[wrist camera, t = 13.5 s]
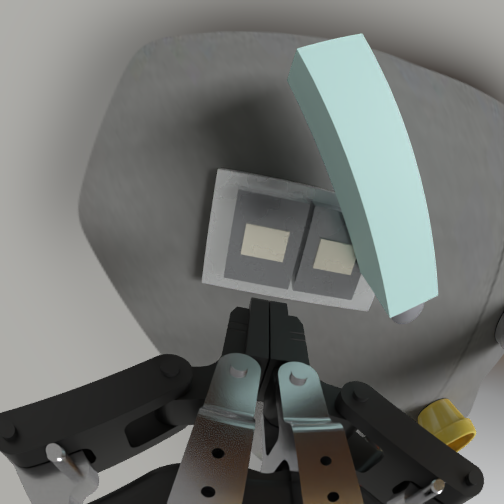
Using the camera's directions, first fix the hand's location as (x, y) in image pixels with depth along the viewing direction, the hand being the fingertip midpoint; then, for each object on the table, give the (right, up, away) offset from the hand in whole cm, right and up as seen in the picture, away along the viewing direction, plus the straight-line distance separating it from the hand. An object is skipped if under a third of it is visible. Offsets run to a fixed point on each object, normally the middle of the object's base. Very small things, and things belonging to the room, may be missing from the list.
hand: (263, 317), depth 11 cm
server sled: (+4, +4, +12) cm, 13 cm away
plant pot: (+32, -25, +22) cm, 46 cm away
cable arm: (+7, +7, +6) cm, 12 cm away
